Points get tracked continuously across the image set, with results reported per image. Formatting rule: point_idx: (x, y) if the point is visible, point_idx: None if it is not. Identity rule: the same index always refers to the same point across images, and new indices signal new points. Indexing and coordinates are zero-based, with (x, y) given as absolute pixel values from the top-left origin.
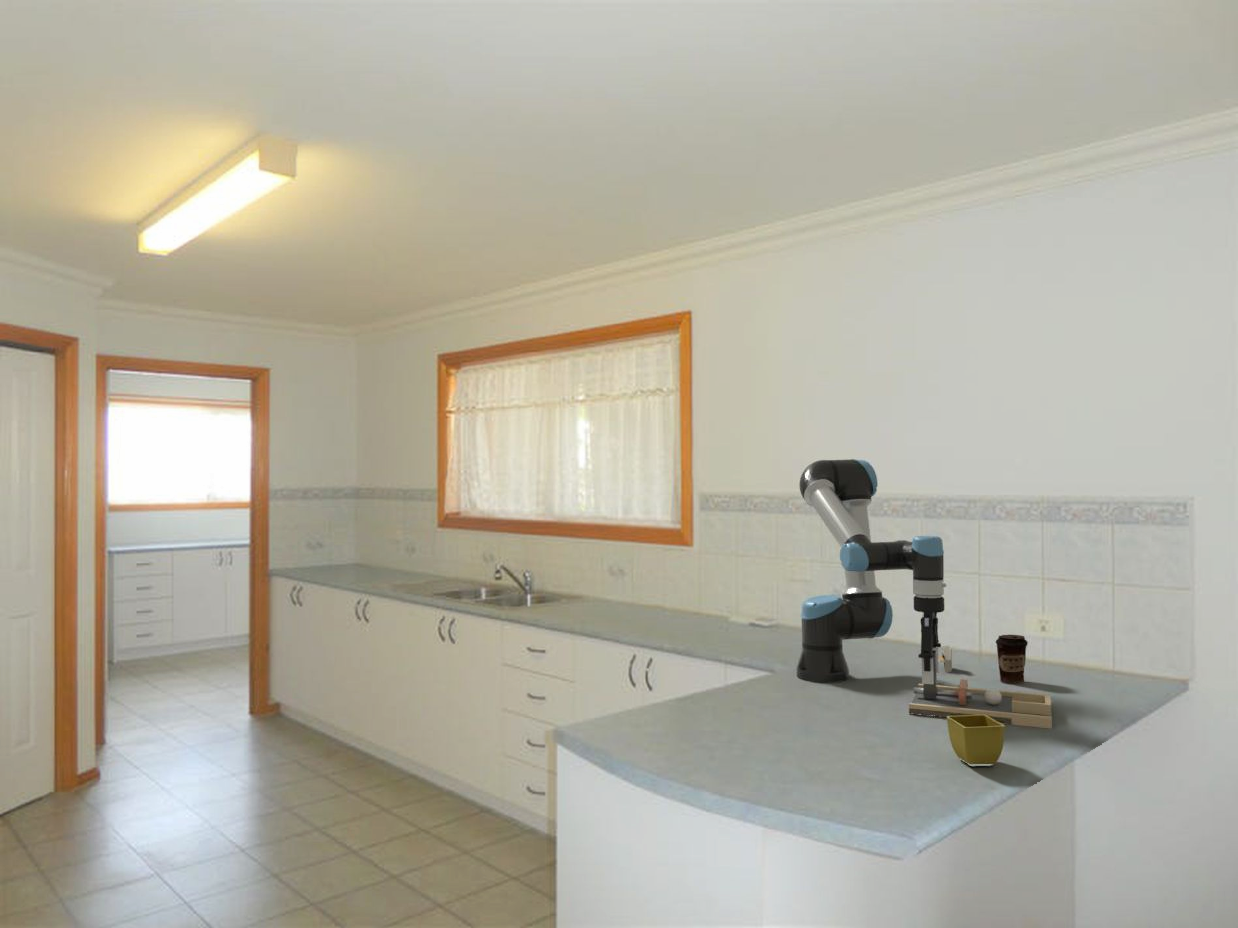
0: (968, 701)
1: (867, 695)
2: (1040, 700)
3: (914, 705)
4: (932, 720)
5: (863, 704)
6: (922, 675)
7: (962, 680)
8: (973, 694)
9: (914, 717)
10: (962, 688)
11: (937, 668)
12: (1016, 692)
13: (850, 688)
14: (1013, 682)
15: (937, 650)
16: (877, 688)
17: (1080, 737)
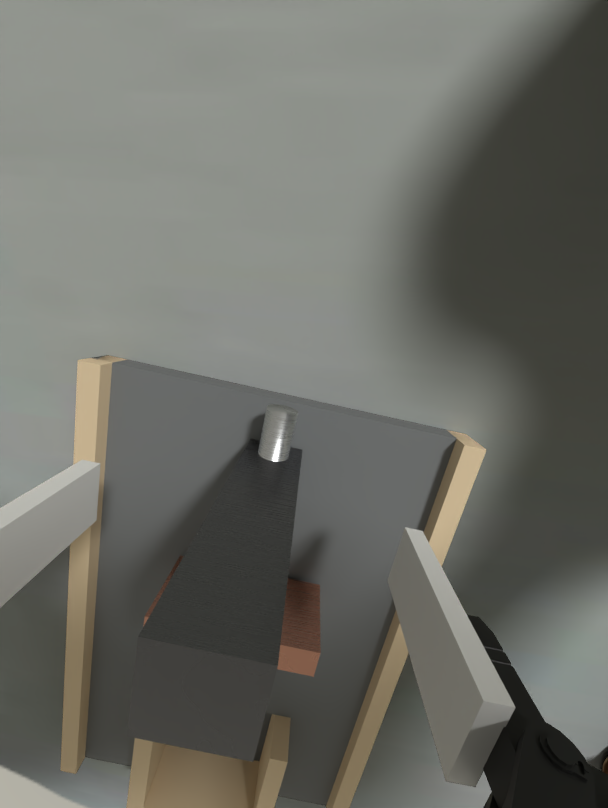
0: None
1: (397, 176)
2: (256, 793)
3: (79, 383)
4: (49, 433)
5: (215, 145)
6: (42, 485)
7: (294, 654)
8: (369, 627)
9: (66, 371)
10: (143, 626)
11: (394, 597)
12: (276, 769)
13: (550, 71)
14: (605, 766)
15: (440, 748)
16: (548, 241)
17: (26, 764)
